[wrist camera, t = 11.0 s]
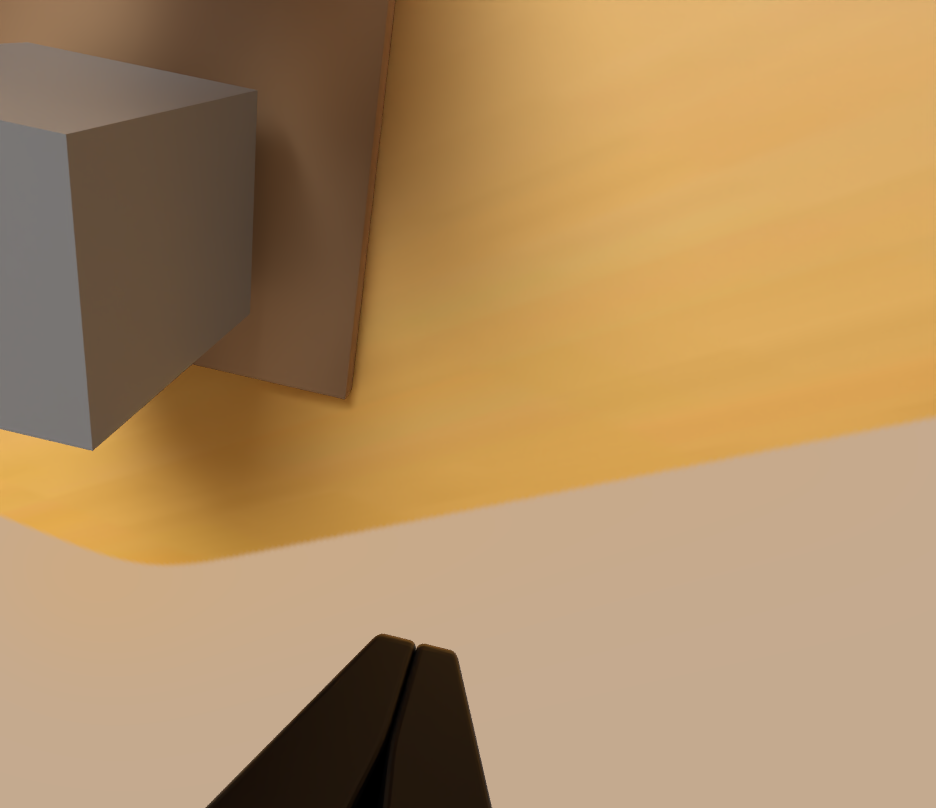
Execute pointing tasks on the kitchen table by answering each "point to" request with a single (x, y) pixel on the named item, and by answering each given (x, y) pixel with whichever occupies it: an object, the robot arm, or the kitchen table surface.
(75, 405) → the grey rectangular block
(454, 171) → the kitchen table surface
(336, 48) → the brown flat panel
